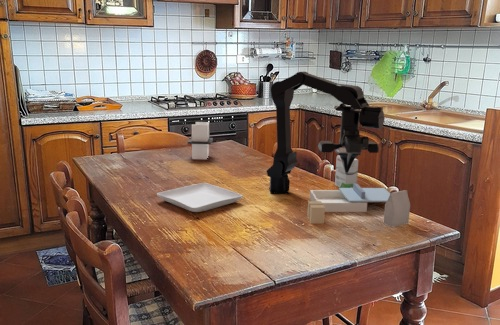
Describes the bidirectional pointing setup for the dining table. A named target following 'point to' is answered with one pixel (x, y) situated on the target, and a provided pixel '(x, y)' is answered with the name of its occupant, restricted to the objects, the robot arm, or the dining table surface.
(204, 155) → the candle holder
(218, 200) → the salad plate
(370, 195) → the lid
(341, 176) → the ink box
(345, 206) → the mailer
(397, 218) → the grey tapered upright block
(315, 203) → the block
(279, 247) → the dining table surface
